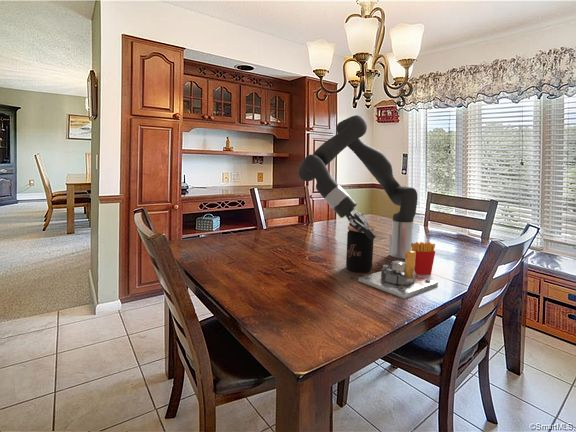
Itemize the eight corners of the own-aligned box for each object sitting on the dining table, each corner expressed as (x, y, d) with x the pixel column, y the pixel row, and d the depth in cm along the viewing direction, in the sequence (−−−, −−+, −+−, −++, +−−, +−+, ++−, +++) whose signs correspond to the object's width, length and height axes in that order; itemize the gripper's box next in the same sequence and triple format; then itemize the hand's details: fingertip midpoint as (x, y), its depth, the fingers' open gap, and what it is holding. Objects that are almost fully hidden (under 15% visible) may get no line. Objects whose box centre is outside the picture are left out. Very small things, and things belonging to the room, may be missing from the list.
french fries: (430, 272, 141) (433, 241, 139) (434, 275, 137) (437, 243, 135) (408, 271, 142) (410, 240, 140) (410, 274, 138) (413, 243, 136)
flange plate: (358, 281, 130) (359, 260, 128) (392, 271, 141) (393, 252, 140) (404, 298, 114) (405, 275, 113) (437, 286, 125) (439, 265, 124)
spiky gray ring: (378, 274, 133) (380, 240, 130) (407, 274, 133) (409, 240, 131) (393, 290, 116) (395, 252, 114) (426, 290, 116) (429, 252, 114)
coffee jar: (341, 266, 147) (342, 225, 144) (362, 264, 151) (364, 223, 148) (354, 274, 137) (356, 230, 134) (377, 271, 141) (379, 228, 138)
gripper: (338, 205, 130) (369, 240, 127) (327, 211, 118) (361, 249, 115) (352, 192, 127) (385, 227, 124) (342, 196, 115) (378, 236, 112)
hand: (373, 238), depth 120 cm, fingers closed
